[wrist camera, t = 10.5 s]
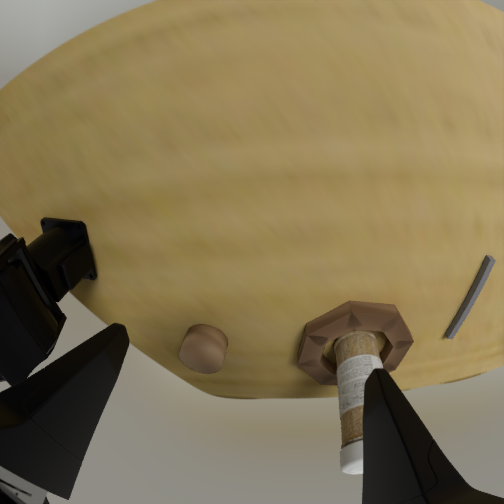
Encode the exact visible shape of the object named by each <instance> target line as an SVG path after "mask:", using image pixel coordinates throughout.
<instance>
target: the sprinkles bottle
mask: <svg viewBox="0 0 504 504" xmlns="http://www.w3.org/2000/svg"><path fill="white" fill-rule="evenodd" d="M334 351H335V354H336V361H337V382H338V395H339V409H340V420H341V430H342V446H341V449H342V450H341V451H340V466H341V471H342V472H344V473H347V474H363V431H362V419H363V403H364V385H365V381H366V379H367V378H368V377H369V375H370V374H371V372H372V371H373V369H375V368H383V365H382V361H381V360H380V356H379V352H378V347H377V338H376V336H375V335H374V334H373V333H372V332H370V331H368V330H352V331H350V332H348V333H346V334H344V335H342V336H340V337H339V338H338V339H337V340H336V342H335V344H334Z"/></svg>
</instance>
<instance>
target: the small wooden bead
mask: <svg viewBox="0 0 504 504" xmlns="http://www.w3.org/2000/svg"><path fill="white" fill-rule="evenodd" d="M227 345H228V340H227V337H226V336H225V334H224V333H223V332H222V331H220V330H219V329H217V328H215V327H213V326H210V325H205V324H198V325H194V326H192V327H190V328H189V329H188V331H187V334H186V336H185V339H184V341H183V344H182V346H181V349H180V351H179V358H180V360H181V362H182V363H183V364H184V365H185V366H187V367H188V368H190V369H192V370H194V371H196V372H200V373H206V374H210V373H215V372H218V371H219V370H220V369H221V368H222V365H223V361H224V357H225V353H226V349H227Z"/></svg>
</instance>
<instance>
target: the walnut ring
mask: <svg viewBox="0 0 504 504" xmlns="http://www.w3.org/2000/svg"><path fill="white" fill-rule="evenodd" d="M352 330H368V331H383V332H384V334H385V335H386V337H387V338H388V341H387V343H386V345H385V347H384V348H383V350H382V352H381V354H380V355H379V356H380V360H381V361H382V365H383V368H384V369H386V370H387V372H388V373H389V372H392V371H394V370H396V368H397V367H398V365H399V364H400V362H401V361H402V359H403V358H404V356H405V355H406V353H407V351H408V350H409V348H410V347H411V345H412V343H413V342H414V341H413V338H412V335H411V333H410V330H409V329H408V327H407V325H406V323H405V322H404V320H403V318H402V316H401V315H400V313H399V311H398V310H397V308H396V306H395V305H390V304H379V303H368V302H357V301H348V302H346V303H344V304H343V305H341V306H339V307H337V308H335V309H333V310H332V311H330V312H328V313H326V314H324V315H322V316H320V317H318V318H316V319H315V320H313V321H311V322H309V323H307V324H306V328H305V332H304V335H303V339H302V342H301V345H300V349H299V352H298V366H299V367H300V368H302V369H303V370H304V371H305V372H306V373H308V374H309V375H310V376H311V377H312V378H314V379H315V380H316V381H317V382H319V383H320V384H323V385H338V382H337V364H332V363H331V362H330V361H329V360H328V359H327V358H326V357H325V356H324V355H323V354H322V353H323V351H324V348H325V346H326V343H328V342H330V341H332V340H334V339H336V338H338V337H340V336H342V335H344V334H346V333H348V332H350V331H352Z"/></svg>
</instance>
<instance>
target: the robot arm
mask: <svg viewBox="0 0 504 504" xmlns="http://www.w3.org/2000/svg"><path fill="white" fill-rule="evenodd" d="M40 222H41V227H42V231H43V234H42V235H40V236H39V237H38V238H36V239H35V240H34V241H33V242H31V243H30V244H29V245H28V246H26V244H25V243H26V242H25V240H24V238H23V237H22V238H19V239H17V238H16V237H15V236H14V235H12V234H11V233H10V234H8V235H7V236H5V237H4V238H2V239H1V240H0V382H2V381H7V382H8V383H9V384H10V385H11V387H10V388H8V389H6V390H4V391H2V392H0V504H49V502H48V500H47V497H46V494H47V492H48V491H49V492H50V493H53V494H55V495H57V496H60V497H62V498H65V499H67V500H69V498H70V495H71V492H72V489H73V487H74V484H75V481H76V478H77V475H78V473H79V470H80V467H81V465H82V461H83V459H84V456H85V454H86V451H87V449H88V446H89V444H90V441H91V439H92V436H93V434H94V431H95V429H96V426H97V424H98V422H99V419H100V417H101V415H102V412H103V410H104V408H105V405H106V403H107V401H108V398H109V396H110V394H111V392H112V390H113V388H114V385H115V383H116V381H117V379H118V376H119V373H120V370H121V367H122V364H123V361H124V358H125V355H126V352H127V349H128V347H129V337H128V333H127V330H126V327H125V326H124V325H122V324H119V323H113V324H111V325H110V326H108V327H107V328H105V329H104V330H102V331H100V332H99V333H97V334H96V335H94V336H93V337H91V338H89V339H88V340H86V341H85V342H83V343H82V344H80V345H78V346H77V347H75V348H74V349H72V350H71V351H69V352H68V353H66V354H65V355H63V356H61V357H60V358H58V359H57V360H55V361H54V362H52V363H50V364H49V365H47V366H46V367H45V368H43V369H41V370H40V371H38V372H37V373H35V374H33V375H32V376H30V377H28V376H29V374H30V373H31V372H32V370H33V369H34V368H35V367H36V366H38V365H39V364H40V363H41V362H43V361H44V360H45V359H47V358H48V356H49V355H50V354H51V352H52V351H53V349H54V347H55V345H56V342H57V340H58V337H59V335H60V332H61V330H62V328H63V326H64V323H65V321H66V319H67V318H66V316H65V314H64V313H62V311H61V310H60V308H59V306H58V305H57V303H56V302H59V301H60V300H61V299H62V298H63V297H64V295H65V294H66V293H67V292H68V291H69V290H72V289H73V288H74V287H75V286H76V285H77V284H78V283H79V282H80V280H81V279H82V278H85V279H89V280H94V279H95V278H96V277H97V274H96V271H95V267H94V263H93V259H92V255H91V250H90V246H89V241H88V237H87V232H86V227H85V224H84V223H83V222H82V221H75V220H65V219H55V218H45V217H44V218H43V219H41V221H40ZM27 377H28V378H27ZM362 431H363V493H362V504H504V498H501V497H497V496H494V495H491V494H488V493H484V492H481V491H479V490H476V489H474V488H473V487H471V486H470V485H469V484H468V483H467V482H466V481H465V480H464V479H463V477H462V476H461V475H460V474H459V472H458V471H457V470H456V469H455V468H454V466H453V465H452V464H451V463H450V462H449V460H448V459H447V457H446V456H445V455H444V453H443V452H442V450H441V449H440V448H439V446H438V445H437V443H436V442H435V440H434V439H433V437H432V436H431V434H430V433H429V431H428V429H427V428H426V427H425V425H424V424H423V422H422V421H421V419H420V418H419V416H418V415H417V413H416V412H415V410H414V409H413V407H412V406H411V405H410V403H409V402H408V400H407V399H406V398H405V396H404V394H403V393H402V391H401V390H400V389H399V387H398V386H397V384H396V383H395V381H394V380H393V379H392V377H391V376H390V374H389V373H388V372H387V370H386V369H384V368H375V369H373V371H372V372H371V374H370V375H369V377H368V378H367V379H366V381H365V385H364V403H363V419H362Z"/></svg>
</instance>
